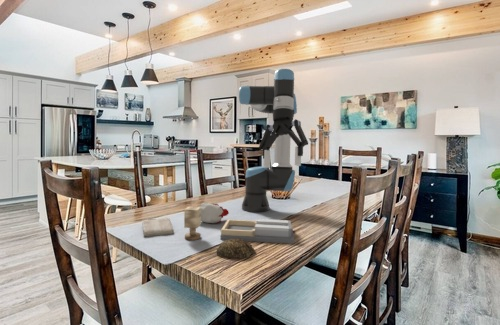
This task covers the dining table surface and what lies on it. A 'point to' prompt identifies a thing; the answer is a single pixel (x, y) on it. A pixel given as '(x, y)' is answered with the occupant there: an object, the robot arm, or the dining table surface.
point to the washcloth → (157, 227)
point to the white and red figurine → (212, 213)
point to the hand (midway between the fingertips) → (281, 166)
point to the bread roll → (235, 249)
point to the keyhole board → (259, 230)
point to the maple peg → (192, 222)
